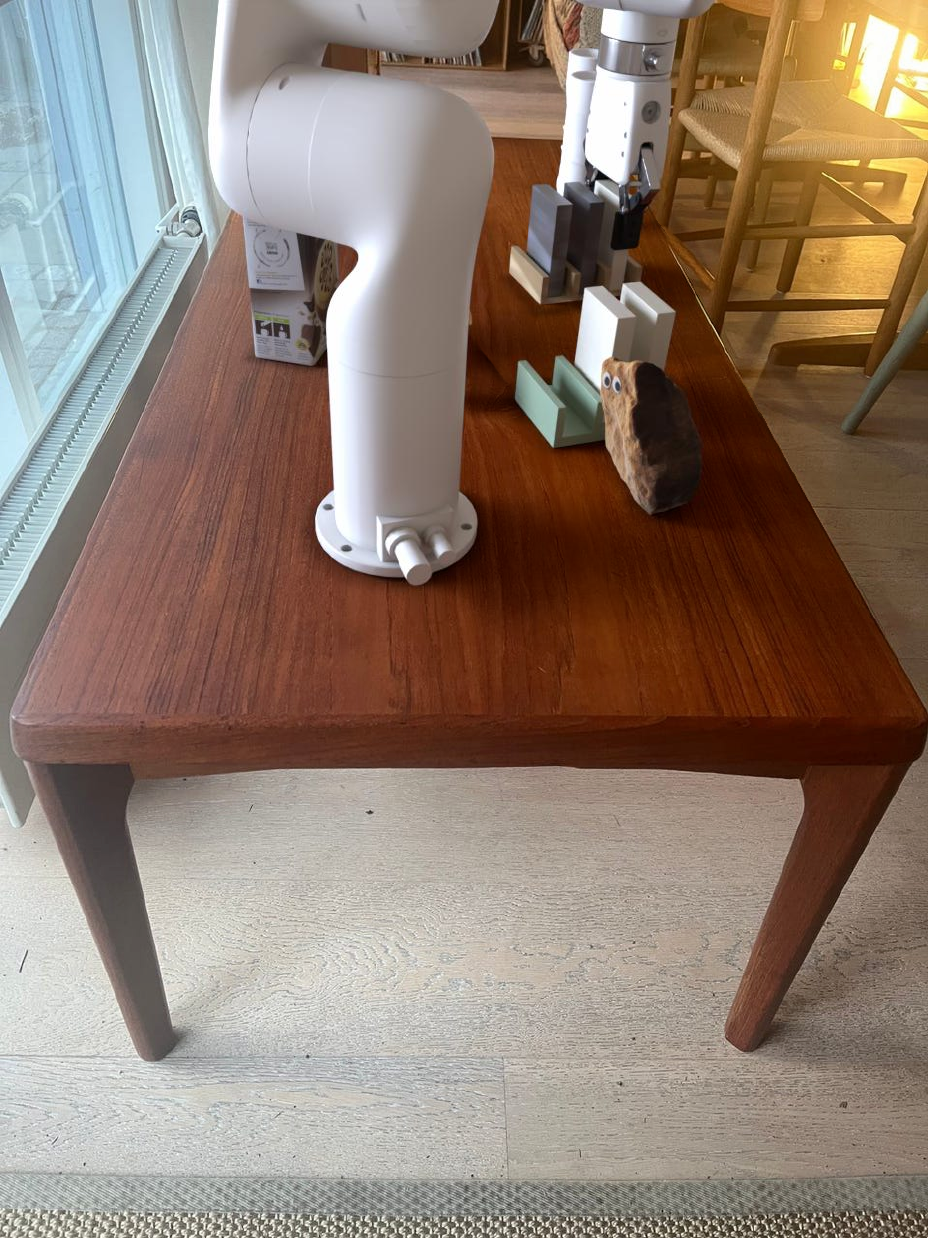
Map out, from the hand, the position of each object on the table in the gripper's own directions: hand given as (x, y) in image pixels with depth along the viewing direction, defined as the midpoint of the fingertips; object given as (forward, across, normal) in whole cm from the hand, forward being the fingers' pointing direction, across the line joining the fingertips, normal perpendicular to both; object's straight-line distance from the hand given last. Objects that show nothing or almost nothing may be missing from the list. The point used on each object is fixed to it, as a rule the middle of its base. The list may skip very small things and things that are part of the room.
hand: (609, 234), depth 109 cm
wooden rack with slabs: (+6, 0, +4) cm, 7 cm away
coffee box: (+6, -5, +37) cm, 38 cm away
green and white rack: (+6, -26, +14) cm, 30 cm away
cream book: (+5, 0, 0) cm, 5 cm away
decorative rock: (+6, -37, +15) cm, 40 cm away
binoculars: (+6, +22, -7) cm, 24 cm away
